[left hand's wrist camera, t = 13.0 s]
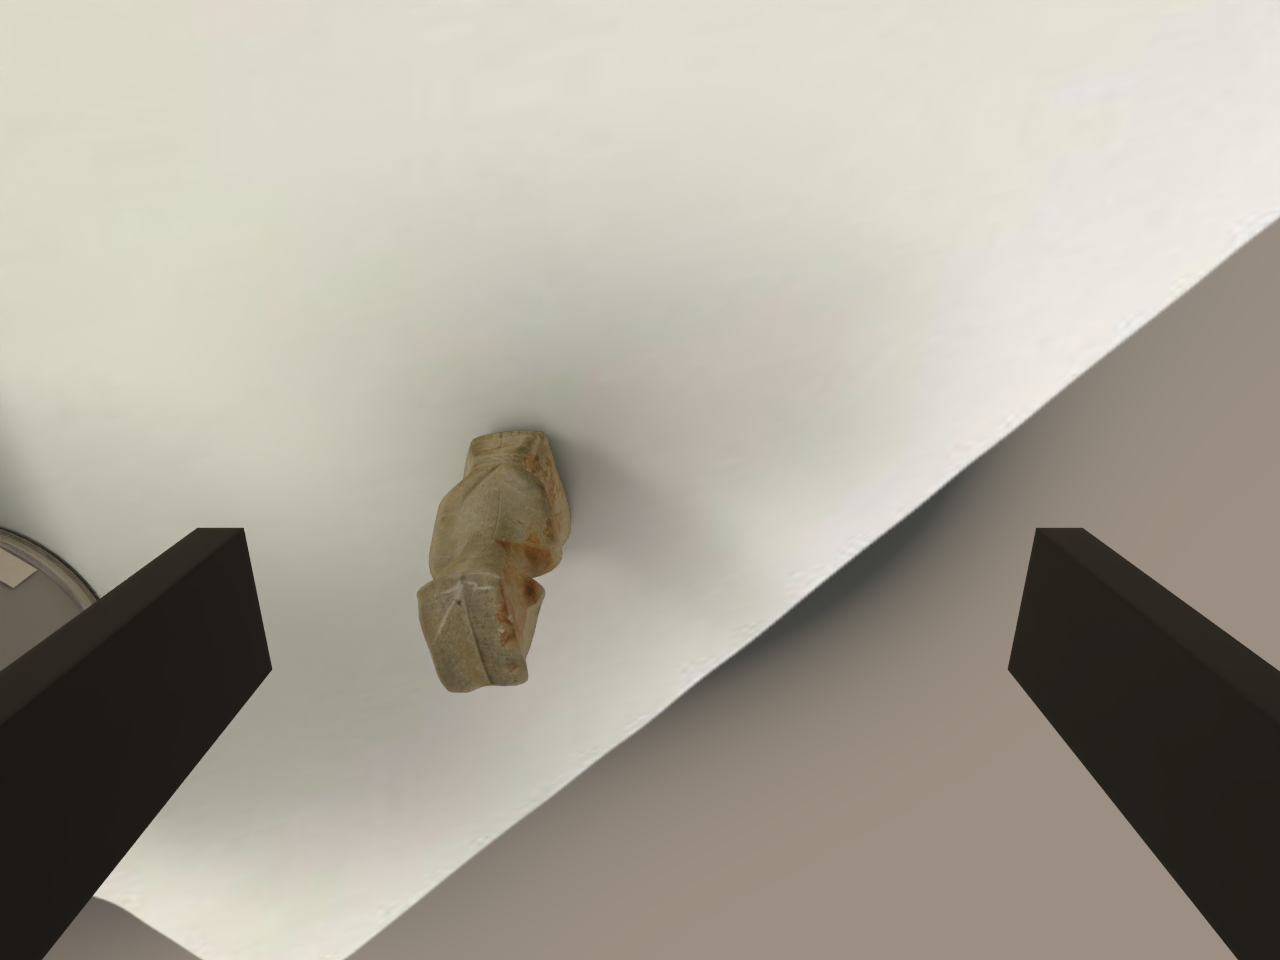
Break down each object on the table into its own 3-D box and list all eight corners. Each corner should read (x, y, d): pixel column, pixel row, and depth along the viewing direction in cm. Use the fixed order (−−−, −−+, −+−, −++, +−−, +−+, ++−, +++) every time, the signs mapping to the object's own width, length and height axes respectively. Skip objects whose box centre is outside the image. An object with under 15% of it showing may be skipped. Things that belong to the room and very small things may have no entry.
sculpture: (482, 543, 42) (403, 713, 28) (461, 421, 40) (363, 539, 25) (585, 535, 42) (557, 702, 28) (570, 412, 39) (531, 527, 25)
